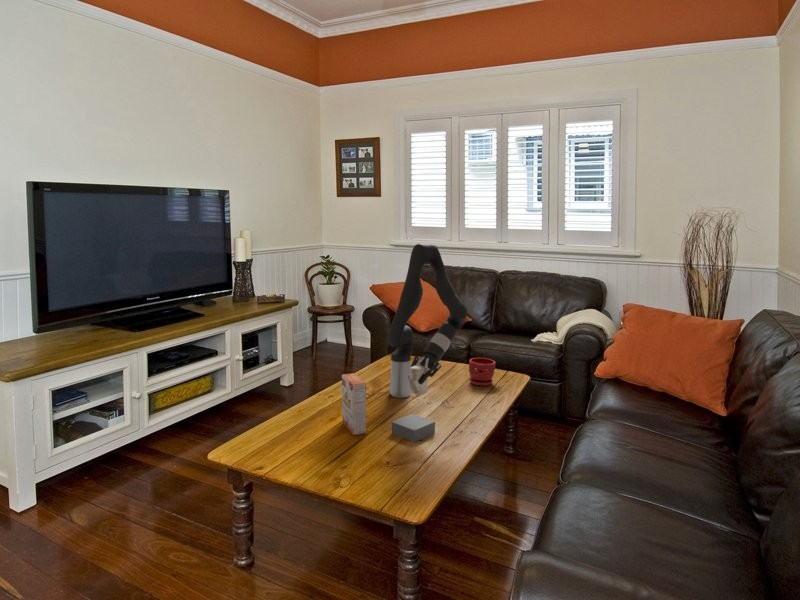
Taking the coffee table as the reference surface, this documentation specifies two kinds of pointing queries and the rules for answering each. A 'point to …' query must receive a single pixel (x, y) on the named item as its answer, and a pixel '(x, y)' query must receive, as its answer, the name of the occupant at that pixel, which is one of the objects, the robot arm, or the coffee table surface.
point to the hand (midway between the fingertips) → (414, 381)
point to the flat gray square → (413, 427)
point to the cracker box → (354, 403)
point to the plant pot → (481, 371)
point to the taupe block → (414, 377)
